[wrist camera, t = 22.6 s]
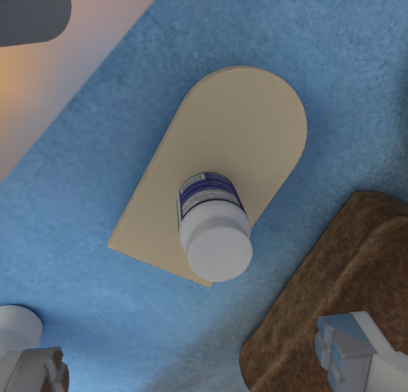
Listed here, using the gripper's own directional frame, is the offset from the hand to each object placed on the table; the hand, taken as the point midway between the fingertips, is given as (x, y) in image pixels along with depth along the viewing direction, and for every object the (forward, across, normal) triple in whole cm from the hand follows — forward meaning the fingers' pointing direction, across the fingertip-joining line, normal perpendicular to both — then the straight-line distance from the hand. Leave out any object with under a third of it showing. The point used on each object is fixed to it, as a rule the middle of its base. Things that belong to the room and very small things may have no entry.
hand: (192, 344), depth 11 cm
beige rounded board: (+27, -2, +5) cm, 28 cm away
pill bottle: (+22, -2, +6) cm, 23 cm away
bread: (+27, -18, +24) cm, 41 cm away
